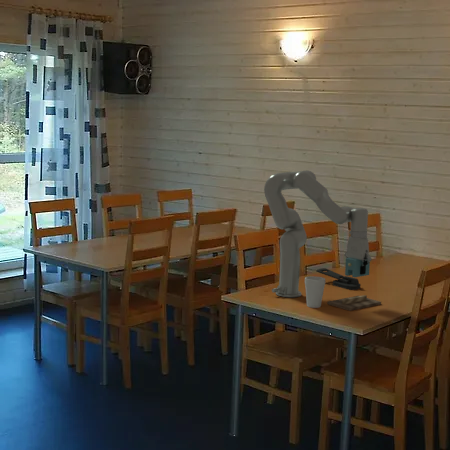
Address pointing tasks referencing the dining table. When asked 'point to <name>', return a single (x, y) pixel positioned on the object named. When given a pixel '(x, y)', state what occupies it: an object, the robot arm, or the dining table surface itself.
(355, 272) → the cabinet
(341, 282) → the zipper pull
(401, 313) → the dining table surface
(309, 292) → the foam cup
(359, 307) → the board
